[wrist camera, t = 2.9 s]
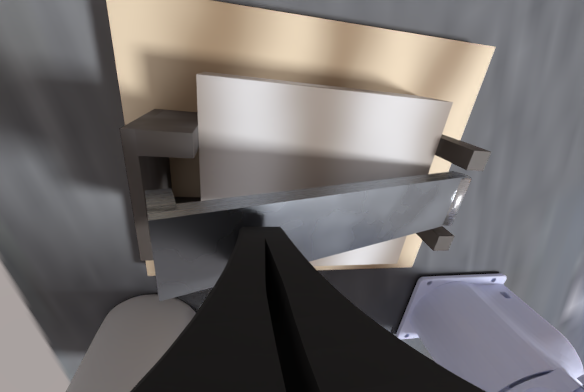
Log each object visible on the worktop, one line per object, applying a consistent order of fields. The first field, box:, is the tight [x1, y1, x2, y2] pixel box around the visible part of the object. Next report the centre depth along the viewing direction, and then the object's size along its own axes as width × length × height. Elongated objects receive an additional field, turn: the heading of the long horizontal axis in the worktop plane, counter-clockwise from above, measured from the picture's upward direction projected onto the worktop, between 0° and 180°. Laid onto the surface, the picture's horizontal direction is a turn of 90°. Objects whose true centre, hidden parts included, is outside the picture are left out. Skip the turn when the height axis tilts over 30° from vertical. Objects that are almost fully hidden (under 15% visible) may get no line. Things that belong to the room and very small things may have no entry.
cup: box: [66, 294, 196, 392], centre depth 18 cm, size 7×10×9 cm
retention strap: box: [145, 171, 472, 302], centre depth 12 cm, size 16×3×2 cm, turn 84°
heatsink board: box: [106, 0, 495, 276], centre depth 15 cm, size 20×16×6 cm
